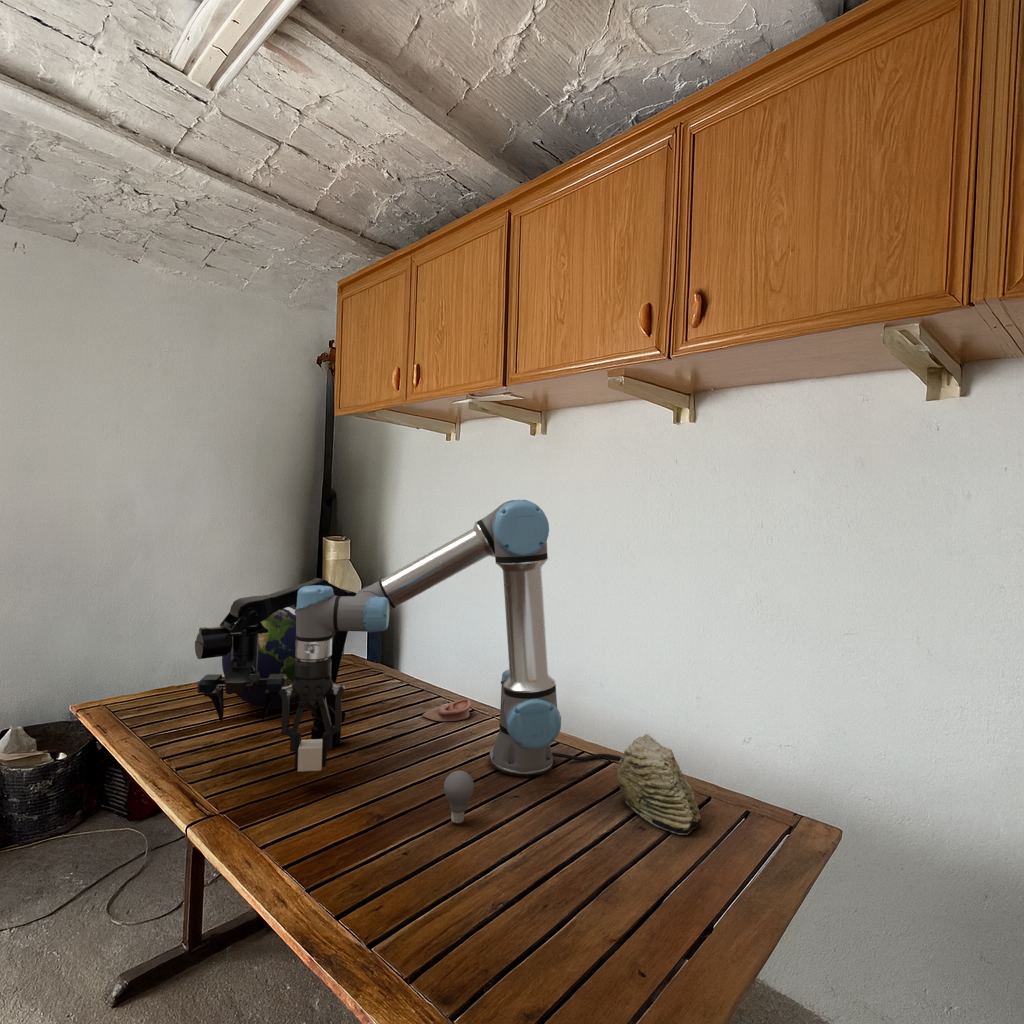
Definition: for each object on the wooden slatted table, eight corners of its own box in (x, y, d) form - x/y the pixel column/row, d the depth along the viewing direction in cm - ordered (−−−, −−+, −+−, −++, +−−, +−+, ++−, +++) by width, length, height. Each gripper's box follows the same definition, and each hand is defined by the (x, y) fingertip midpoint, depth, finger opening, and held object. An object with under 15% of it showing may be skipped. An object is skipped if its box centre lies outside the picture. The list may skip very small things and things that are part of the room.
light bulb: (442, 814, 128) (444, 765, 128) (472, 814, 129) (474, 765, 129) (441, 829, 122) (444, 778, 122) (472, 829, 123) (475, 778, 123)
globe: (289, 685, 209) (292, 594, 208) (348, 705, 191) (352, 606, 191) (199, 706, 185) (203, 604, 184) (258, 732, 167) (262, 619, 167)
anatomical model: (419, 705, 182) (432, 693, 194) (418, 719, 182) (431, 706, 194) (463, 710, 180) (474, 698, 191) (463, 724, 180) (473, 711, 191)
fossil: (629, 792, 142) (632, 725, 142) (706, 824, 129) (710, 751, 129) (606, 804, 135) (609, 735, 135) (684, 839, 122) (687, 763, 122)
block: (297, 771, 134) (298, 748, 134) (300, 762, 139) (301, 739, 139) (321, 770, 135) (321, 747, 135) (323, 760, 140) (324, 738, 140)
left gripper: (191, 662, 138) (188, 733, 138) (281, 661, 141) (278, 731, 141) (205, 650, 149) (203, 716, 149) (289, 649, 152) (286, 714, 152)
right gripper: (266, 663, 131) (263, 774, 132) (355, 661, 135) (352, 770, 135) (273, 654, 139) (270, 759, 139) (357, 653, 142) (354, 756, 142)
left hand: (242, 719), depth 148 cm, fingers open, 9 cm apart
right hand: (310, 764), depth 137 cm, fingers closed on block, 5 cm apart
